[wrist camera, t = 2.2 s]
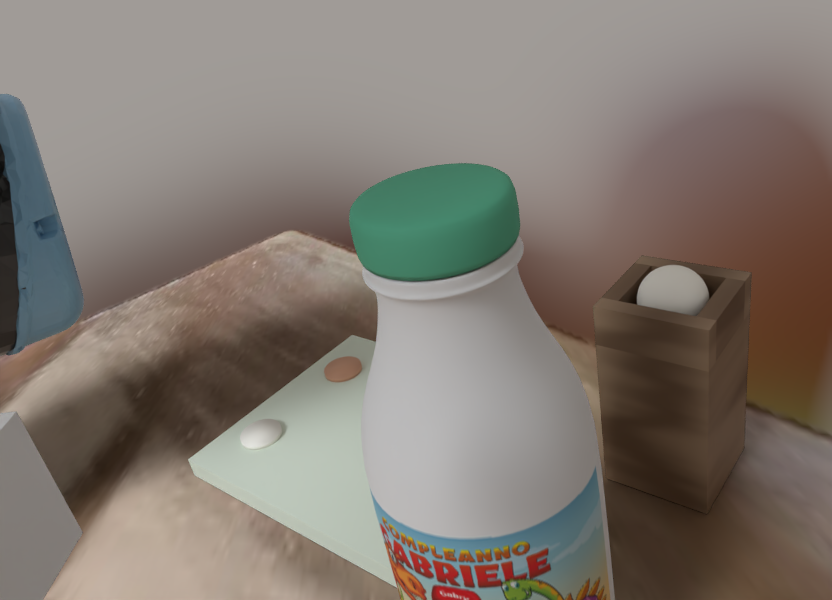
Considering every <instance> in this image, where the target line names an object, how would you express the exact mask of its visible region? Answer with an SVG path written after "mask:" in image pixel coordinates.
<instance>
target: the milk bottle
mask: <svg viewBox="0 0 832 600" xmlns="http://www.w3.org/2000/svg"><path fill="white" fill-rule="evenodd" d="M349 222H350V228H351V233H352V238H353V242H354V245H355V249H356V252H357V255H358V258H359V260H360V261H361V263H362V265H363V272H362V275H363V279H364V282H365V283H366V285H367V286H368V287H369V288H370V289H372V290H373V291H375V292H376V295H377V301H378V325H377V336H376V345H375V350H374V356H373V360H372V364H371V368H370V372H369V376H368V380H367V384H366V389H365V394H364V399H363V407H362V417H361V440H362V449H363V457H364V465H365V470H366V474H367V478H368V482H369V487H370V491H371V495H372V499H373V503H374V507H375V511H376V515H377V519H378V522H379V526H380V529H381V533H382V536H383V540H384V543H385V547H386V550H387V554H388V557H389V561H390V564H391V568H392V571H393V575H394V578H395V581H396V585H397V588H398V591H399V595H400V598H401V600H615V595H614V584H613V574H612V563H611V553H610V543H609V532H608V523H607V514H606V505H605V495H604V486H603V477H602V468H601V461H600V455H599V448H598V442H597V435H596V428H595V424H594V419H593V416H592V412H591V408H590V404H589V401H588V398H587V395H586V393H585V390H584V388H583V385H582V382H581V380H580V378H579V376H578V374H577V372H576V370H575V368H574V366H573V364H572V363H571V361H570V359H569V358H568V356H567V355H566V353H565V352H564V350H563V349H562V347H561V346H560V345H559V343H558V342H557V341H556V339H555V338H554V336H553V335H552V334H551V332H550V331H549V330H548V328H547V327H546V326H545V324H544V323H543V321H542V320H541V318H540V317H539V315H538V313H537V312H536V310H535V309H534V307H533V305H532V303H531V301H530V299H529V297H528V295H527V293H526V290H525V288H524V286H523V284H522V281H521V279H520V276H519V272H518V267H517V264H518V262H519V261H520V259H521V257H522V255H523V249H524V246H523V242H522V240H521V238H520V237H519V230H520V218H519V208H518V202H517V197H516V192H515V188H514V186H513V183H512V181H511V179H510V178H509V176H508V175H507V174H505V173H504V172H502V171H500V170H498V169H496V168H493V167H490V166H486V165H479V164H466V163H464V164H463V163H461V164H460V163H459V164H444V165H436V166H430V167H425V168H420V169H416V170H412V171H408V172H405V173H402V174H399V175H396V176H393V177H391V178H388V179H386V180H384V181H382V182H379V183H377V184H376V185H374V186H372V187H370V188H369V189H367V190H366V191H365V192H363V193H362V194H361V195H360V196H359V197H358V198H357V199H356V201H355V202H354V203H353V205H352V206H351V209H350V220H349Z"/></svg>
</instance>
